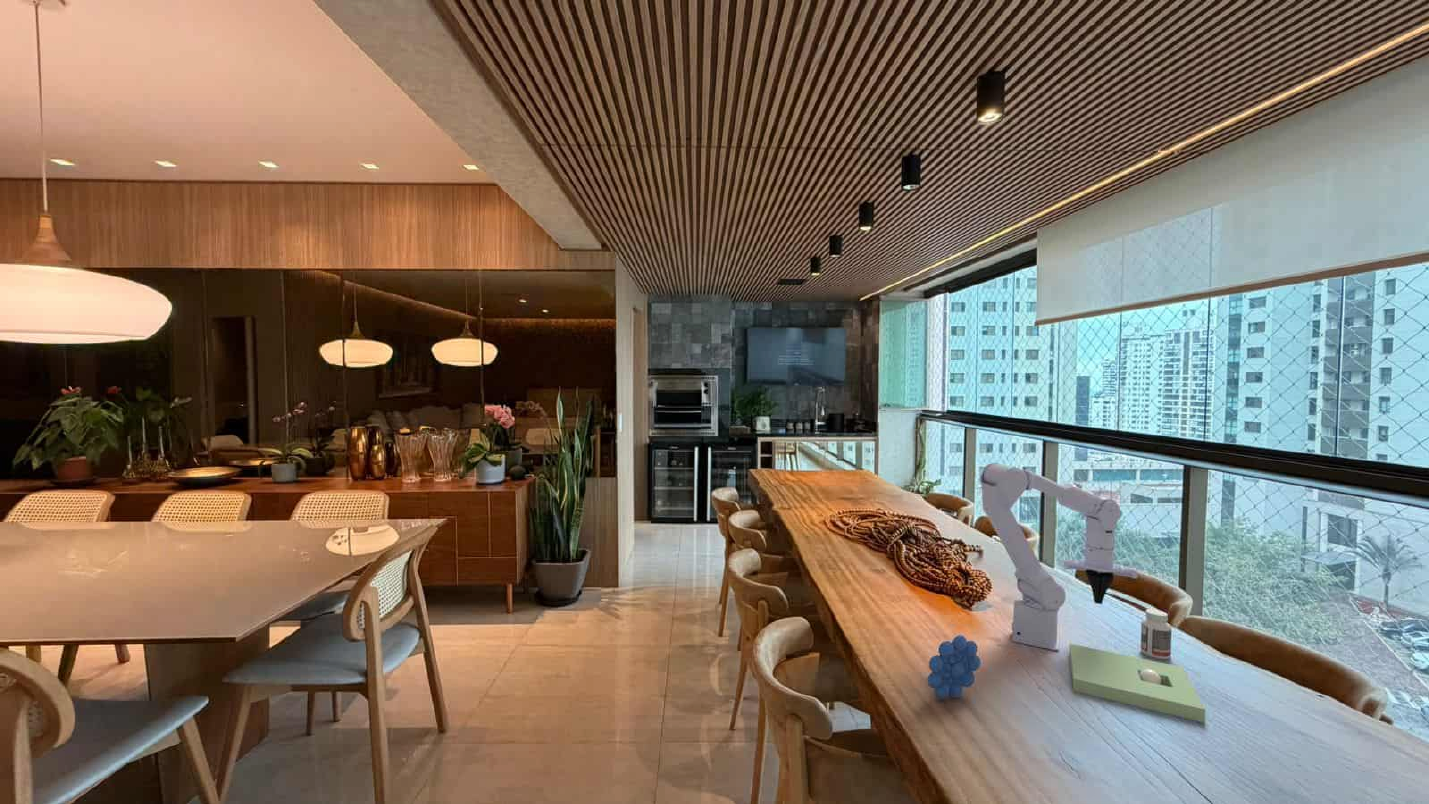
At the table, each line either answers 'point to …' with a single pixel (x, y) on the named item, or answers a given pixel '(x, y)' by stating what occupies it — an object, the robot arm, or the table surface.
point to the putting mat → (1134, 682)
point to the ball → (1150, 676)
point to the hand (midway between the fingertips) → (1097, 602)
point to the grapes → (953, 667)
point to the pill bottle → (1156, 635)
